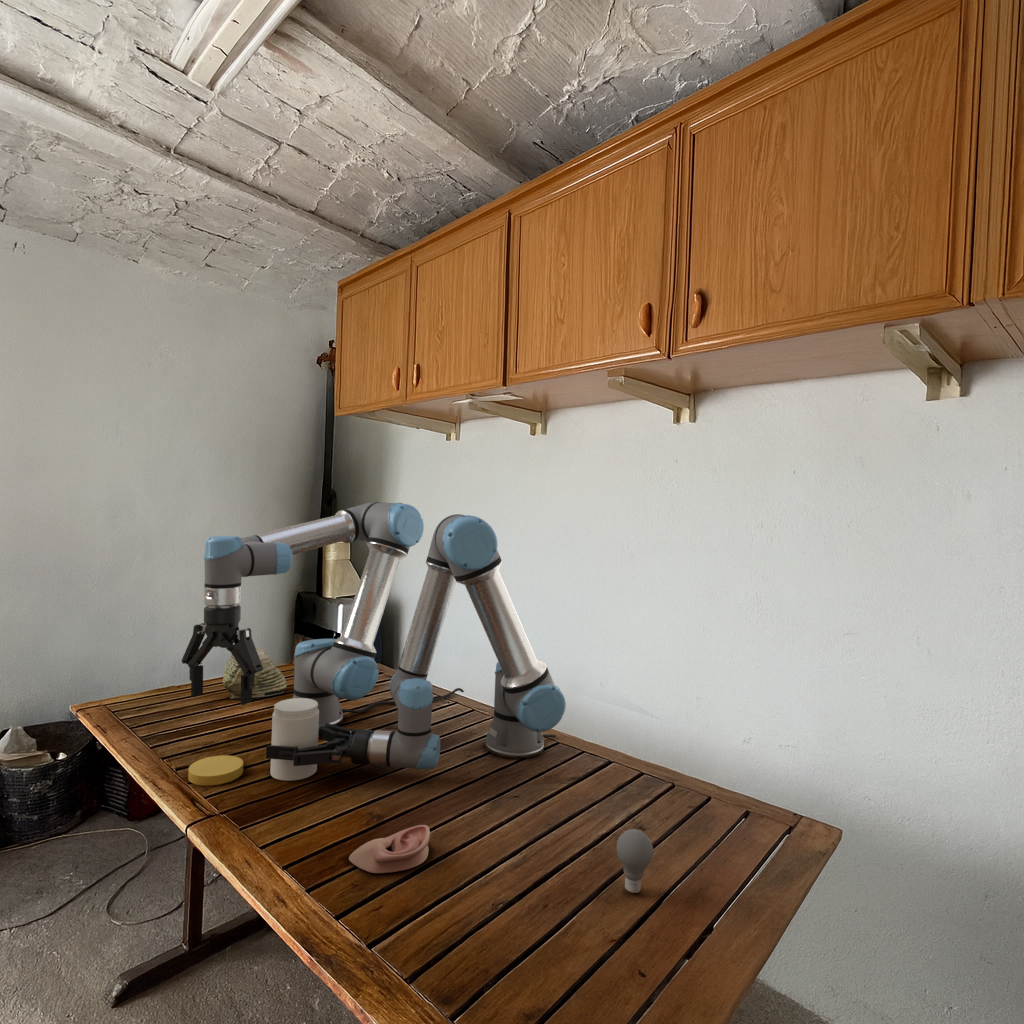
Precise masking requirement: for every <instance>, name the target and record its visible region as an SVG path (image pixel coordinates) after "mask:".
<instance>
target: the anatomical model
mask: <svg viewBox="0 0 1024 1024" xmlns="http://www.w3.org/2000/svg"><path fill="white" fill-rule="evenodd" d="M430 838H431V830H430V827H429V826H428V825H427V824H419V825H413V826H411V827H409V828H405V829H403V830H400V831H398V832H396V833H393V834H391V835H389V836H386V837H379V838H375V839H372V840H369V841H367V842H365V843H364V844H362V845H360V846H358V848H356V849H355V850H353V852H352V853H350V855H349V857H348V860H349V862H350V863H351V864H352V865H354V866H356V867H357V868H358V869H361V870H363V871H365V872H367V873H369V874H370V873H371V874H387V873H388V874H389V873H396V872H401V871H405V870H409V869H412V868H415V867H418V866H419V865H421V864H422V863H425V861H426V860H427V859H428V856H429V842H430Z"/></svg>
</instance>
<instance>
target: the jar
mask: <svg viewBox="0 0 1024 1024" xmlns="http://www.w3.org/2000/svg"><path fill="white" fill-rule="evenodd" d="M273 706H274V707H273V712H272V715H271V716H272V717H271V743H270V745H275V746H289V747H295V746H297V747H298V749H301V748H307V747H313V746H319V735H318V729H319V710H318V703H317V701H315V700H312V699H307V698H293V697H292V698H287V699H282V700H280V701H278V702H276V703H275V704H274V705H273ZM293 762H294V761H293V760H280V759H270V771H269V773H270V776H271V777H272V778H274V779H276V780H279V781H284V782H285V781H288V782H289V781H290V782H291V781H300V780H304V779H307V778H309V777H311V776H313V775H314V774H315V773H316V772H317V771H318V764H314V765H303V766H294V765H293Z"/></svg>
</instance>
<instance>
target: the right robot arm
mask: <svg viewBox="0 0 1024 1024" xmlns="http://www.w3.org/2000/svg"><path fill="white" fill-rule="evenodd" d="M430 541H431V542H430V546H429V549H428V553H427V556H426V560H425V564H426V566H427V571H426V574H425V576H424V580H423V584H422V588H421V591H420V593H419V598H418V599H417V600H418V601H417V604H416V607H415V610H414V613H413V618H412V619H411V624H410V627H409V630H408V634H407V637H406V639H405V643H404V647H403V650H402V653H401V656H400V659H399V663H398V667H397V670H396V671H395V672H396V673H394V675H392V677H391V679H390V682H389V691H390V695H391V697H392V699H393V701H395V704H394V705H395V706H396V708H397V731H393V730H381V729H376V730H375V731H373V730H372V729H363V728H361V729H360V728H359V729H351V728H347V727H343V726H340V725H339V726H336V725H332V724H328V723H326V724H324V726H319V729H318V740H319V741H322V740H324V741H325V743H324V744H320V745H319V744H318V746H313V747H307V748H301V749H298V747H297V746H295V747H289V746H275V745H271V744H267V745H266V748H265V750H266V751H265V759H267V760H271V759H280V760H293V761H294V762H293V765H294V766H303V765H314V764H317V765H324V764H336V765H337V764H341V763H342V758H347V757H348V758H350V762H351V763H352V764H353V765H358V766H359V765H360V766H368V765H369V764H370V766H378V767H381V768H382V769H383V768H384V769H385V768H386V767H389V768H391V767H393V768H403V769H412V770H433V769H435V768H436V767H437V766H438V764H439V761H440V756H441V744H442V743H441V737H440V735H439V734H435V733H432V716H433V714H432V713H433V712H432V711H433V701H432V700H433V698H434V694H433V683H432V682H431V681H429V680H427V679H428V675H429V671H430V668H431V665H432V661H433V658H434V655H435V652H436V648H437V646H438V641H439V638H440V636H441V632H442V628H443V625H444V623H445V619H446V616H447V612H448V609H449V606H450V603H451V599H452V596H453V593H454V590H455V586H456V583H458V584H460V585H463V586H465V589H466V591H467V593H468V596H469V598H470V601H471V603H472V604H473V607H474V609H475V611H476V614H477V616H478V618H479V621H480V623H481V625H482V628H483V630H484V632H485V635H486V637H487V639H488V641H489V643H490V646H491V648H492V651H493V653H494V655H495V657H496V660H497V662H496V664H495V671H494V675H495V676H494V677H495V678H494V700H493V701H494V703H493V718H492V720H491V723H490V726H489V729H488V731H487V733H486V737H485V749H486V750H487V751H488V752H489V753H491V754H492V755H494V756H498V757H501V758H506V759H528V758H534V757H537V756H539V755H540V754H542V753H543V752H544V750H545V740H544V738H555V739H556V738H557V735H556V734H548V733H547V734H545V732H547V731H549V730H552V729H553V728H555V727H556V726H557V725H558V724H559V723H560V722H561V720H562V718H563V716H564V714H565V712H566V708H567V703H566V702H567V701H566V698H565V695H564V692H563V691H562V689H561V688H560V687H559V686H558V685H556V684H555V682H554V680H553V678H552V675H551V673H550V670H549V668H548V666H547V664H546V662H544V661H543V660H539V659H538V658H537V657H536V654H535V652H534V649H533V647H532V644H531V642H530V640H529V638H528V635H527V633H526V631H525V629H524V626H523V624H522V622H521V619H520V616H519V614H518V612H517V610H516V608H515V605H514V603H513V600H512V598H511V596H510V593H509V591H508V589H507V586H506V584H505V582H504V579H503V577H502V575H501V572H500V568H501V566H502V565H503V564H502V563H503V560H502V558H501V555H500V553H499V551H498V537H497V535H496V532H495V530H494V529H493V527H492V525H490V524H489V523H488V522H486V520H484V519H482V518H481V517H478V516H476V515H470V514H469V515H468V514H462V513H461V514H459V513H457V514H450V515H448V516H446V517H444V518H442V520H440V522H438V524H437V526H436V527H435V529H434V531H433V535H432V537H431V540H430ZM329 728H330V729H329ZM543 732H544V733H543Z"/></svg>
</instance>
